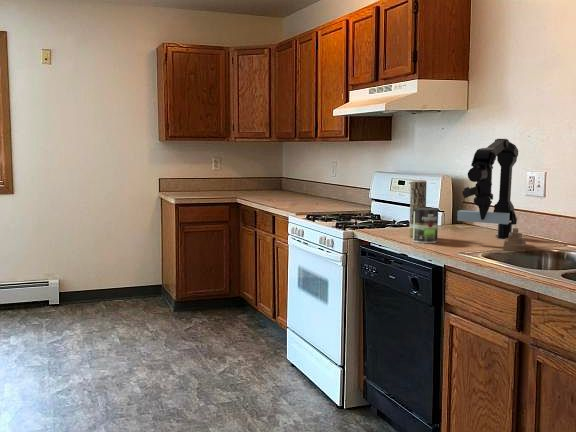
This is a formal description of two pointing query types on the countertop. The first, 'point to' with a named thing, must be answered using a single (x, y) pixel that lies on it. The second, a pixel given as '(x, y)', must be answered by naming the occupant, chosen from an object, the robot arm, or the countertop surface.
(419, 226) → the coffee can
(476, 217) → the beam
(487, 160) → the robot arm
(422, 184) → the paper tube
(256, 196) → the countertop surface
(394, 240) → the countertop surface
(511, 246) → the ridge stand
